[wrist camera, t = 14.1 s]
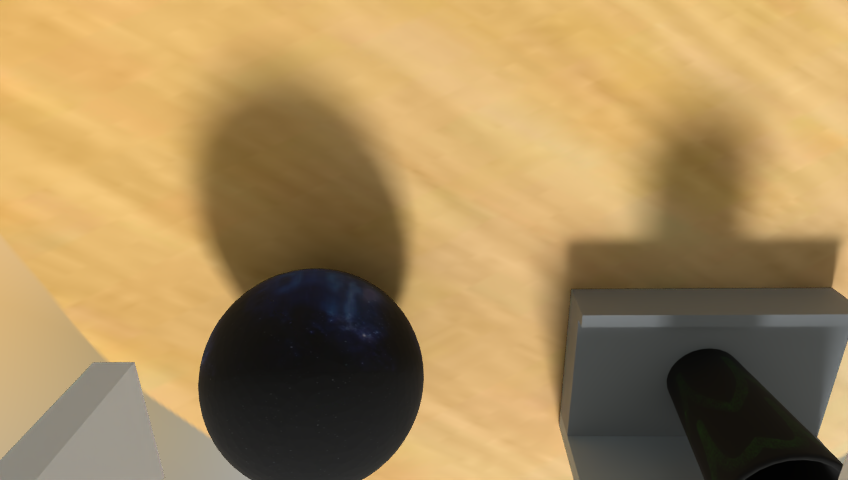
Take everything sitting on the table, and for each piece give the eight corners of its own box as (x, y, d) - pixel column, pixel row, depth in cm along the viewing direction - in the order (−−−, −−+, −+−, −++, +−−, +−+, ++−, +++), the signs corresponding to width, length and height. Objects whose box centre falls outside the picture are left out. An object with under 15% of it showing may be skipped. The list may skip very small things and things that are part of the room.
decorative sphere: (417, 228, 43) (404, 337, 29) (433, 389, 49) (430, 543, 35) (222, 242, 44) (123, 355, 30) (262, 399, 50) (193, 553, 36)
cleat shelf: (571, 289, 45) (622, 407, 32) (832, 287, 44) (992, 408, 31) (559, 425, 50) (599, 573, 37) (791, 425, 49) (914, 577, 37)
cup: (765, 397, 45) (870, 529, 34) (670, 430, 46) (740, 566, 35) (739, 321, 42) (844, 437, 31) (639, 359, 44) (705, 482, 33)
